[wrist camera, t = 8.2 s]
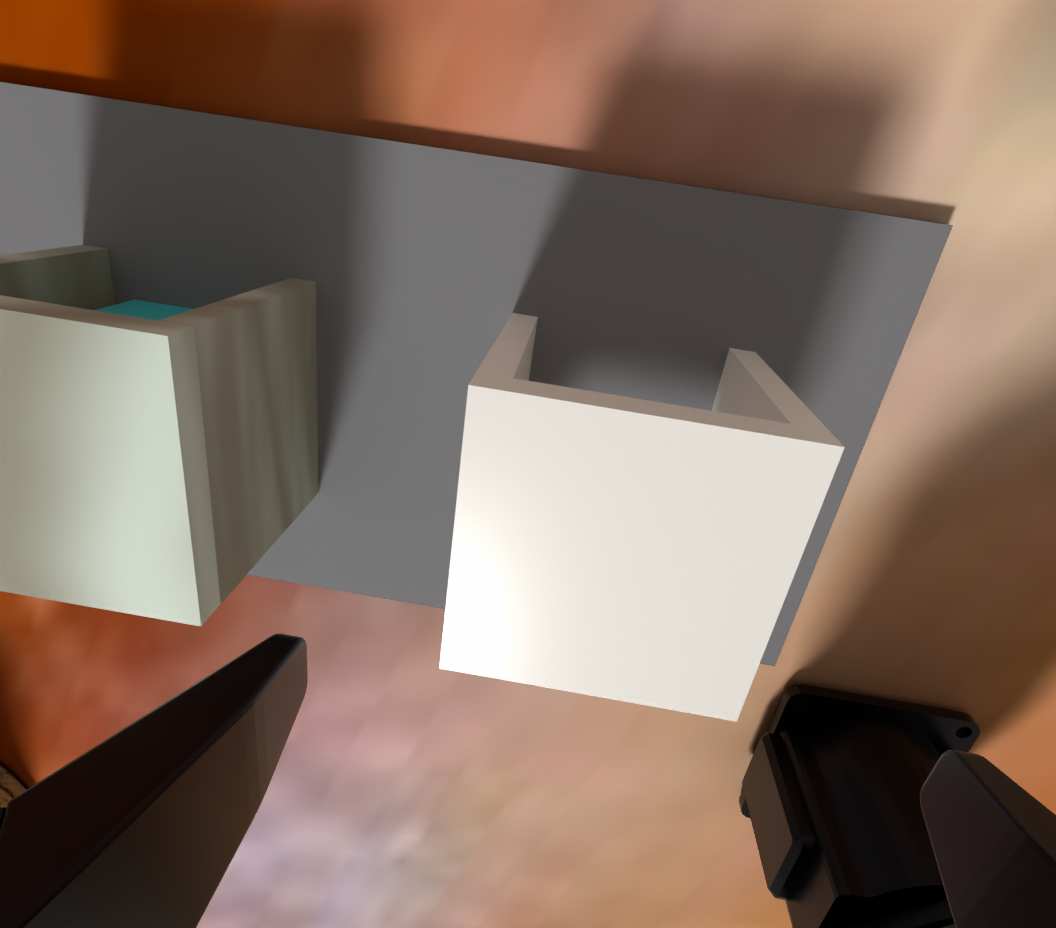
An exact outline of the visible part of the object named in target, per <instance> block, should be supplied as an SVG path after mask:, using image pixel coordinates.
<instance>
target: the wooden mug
mask: <svg viewBox="0 0 1056 928" xmlns="http://www.w3.org/2000/svg"><path fill="white" fill-rule="evenodd" d="M25 790H26V789H25V788H24V786H23V785H22V784H21V783H20V781H19V780H17V779H16V778H15V777H14V776H13V775H12V774H10V773H9V772H8V771H7V770H6V769H5V768H3V767H2V766H1V765H0V806H4V807H6V806H7V803H8V802H9V801H10V800H11V799H13V798H14V797H16V796H17V795H19V794H21V793H22V792H24V791H25Z"/></svg>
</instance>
